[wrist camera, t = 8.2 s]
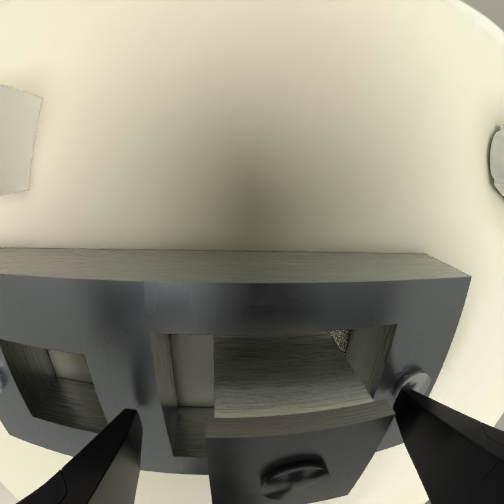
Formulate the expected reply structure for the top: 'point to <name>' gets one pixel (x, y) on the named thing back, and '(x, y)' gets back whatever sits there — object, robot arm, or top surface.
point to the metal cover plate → (202, 332)
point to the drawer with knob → (288, 420)
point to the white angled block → (17, 137)
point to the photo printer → (498, 159)
